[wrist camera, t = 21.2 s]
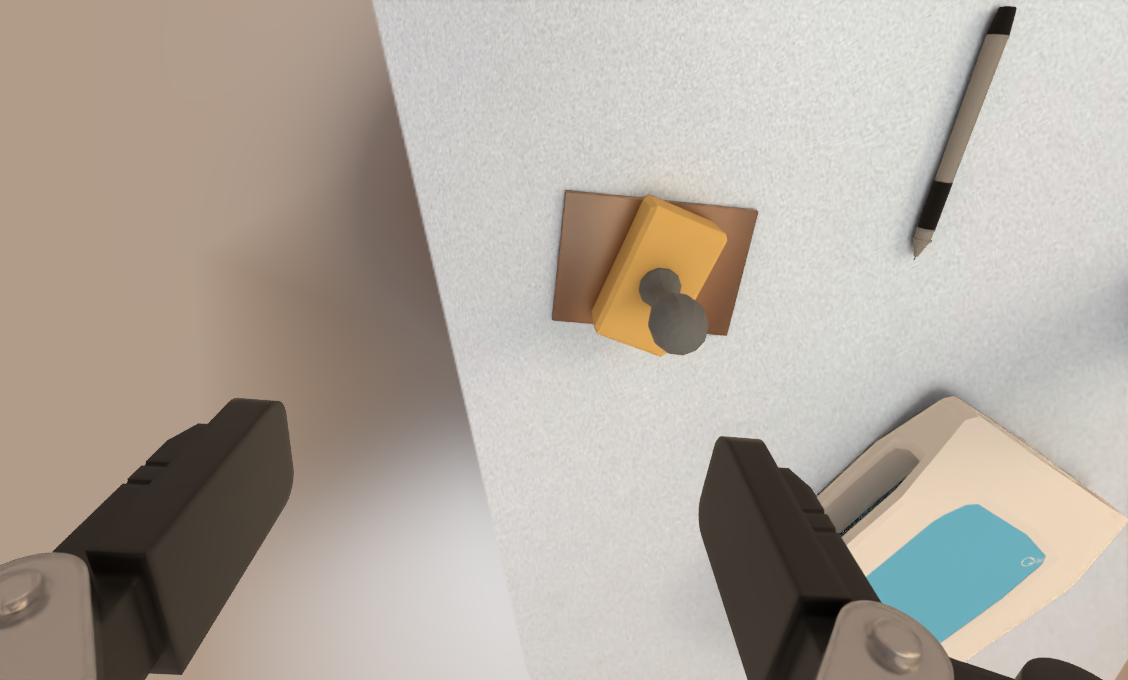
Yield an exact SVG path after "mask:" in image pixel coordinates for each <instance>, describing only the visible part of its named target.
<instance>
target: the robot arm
mask: <svg viewBox="0 0 1128 680" xmlns="http://www.w3.org/2000/svg"><path fill="white" fill-rule="evenodd" d="M293 476H294V471H293V462H292V454H291V446H290V440H289V431H288V423H287V416H286V410H285V407H284V405H283V404H282V403H281V402H280V401H270V400H269V401H268V400H257V399H244V398H234V399H232V400H231V401H230V402H228V404H227V405H226V406H225V407H224V408H223V409H222V410H221V411H220V412H219V413H218V414H217V415H216V416H215V417H214V418H213V419H212V420H211V421H210V422H209V423H208V424H197V425H195V426H193V427H191V428H189V429H188V430H186V431H184V432H182V433H180V434H179V435H176V436H175V437H173V438H171V439H169V440H167V441H166V442H165V443H164V444H163V445H162V446H161V447H160V448H159V449H158V450H157V451H156V452H155V453H154V454H153V455H152V456H151V457H150V458H149V459H148V460H147V461H146V465H145V466H141V467H140V468H139V469H138V470H136V471H135V472H134V473H133V474H132V475H131V476H130V477H129V478H128V482H127V484H122V485H121V486H120V487H119V488H118V489H117V490H116V491H115V492H114V493H113V494H112V495H111V496H110V497H108V499H107V500H105V501H104V502H103V503H102V504H101V505H100V506H99V507H98V508H97V509H96V510H95V511H94V512H93V513H92V514H91V515H90V516H89V517H88V518H87V519H86V520H85V521H84V522H83V523H82V524H81V525H79V526H78V527H77V529H75V530H74V531H73V532H72V533H71V534H70V535H69V536H68V537H67V538H66V539H65V540H64V541H63V542H62V543H61V544H60V545H59V546H58V547H57V548H56V549H55V550H54V551H53V552H52V553H41V554H35V555H31V556H26V557H22V558H19V559H15V560H12V561H10V562H7V563H4V564H2V565H0V680H145V679H146V677H147V676H148V674H149V673H153V674H174V675H175V674H176V675H182V674H183V672H184V670H185V669H186V667H187V665H188V664H189V662H190V661H191V659H192V657H193V655H194V654H195V652H196V650H197V649H198V648H199V646H200V644H201V643H202V641H203V639H204V638H205V636H206V634H207V633H208V631H209V630H210V628H211V626H212V625H213V623H214V621H215V620H216V618H217V616H218V615H219V613H220V611H221V610H222V608H223V607H224V605H225V603H226V601H227V600H228V598H229V597H230V595H231V593H232V592H233V590H234V589H235V587H236V585H237V584H238V582H239V580H240V579H241V577H242V576H243V574H244V572H245V571H246V569H247V567H248V566H249V564H250V562H251V561H252V559H253V558H254V556H255V554H256V553H257V551H258V549H259V547H260V546H261V544H262V543H263V541H264V540H265V538H266V536H267V535H268V533H269V531H270V530H271V528H272V526H273V525H274V523H275V522H276V520H277V518H278V517H279V515H280V513H281V512H282V510H283V508H284V507H285V505H286V503H287V501H288V499H289V496H290V493H291V489H292V484H293ZM699 527H700V532H701V535H702V539H703V542H704V545H705V548H706V551H707V554H708V557H709V561H710V564H711V567H712V570H713V573H714V576H715V579H716V582H717V586H718V589H719V592H720V595H721V598H722V601H723V604H724V607H725V611H726V614H727V617H728V620H729V623H730V626H731V629H732V632H733V636H734V639H735V642H736V645H737V648H738V651H739V654H740V657H741V661H742V664H743V667H744V670H745V673H746V676H747V679H748V680H1102V679H1100V678H1099V677H1097V676H1095V675H1094V674H1092V673H1090V672H1088V671H1086V670H1084V669H1082V668H1080V667H1078V666H1075V665H1073V664H1070V663H1068V662H1064V661H1061V660H1058V659H1052V658H1036V659H1032V660H1030V661H1028V662H1027V663H1026V664H1025V665H1024V667H1023V668H1022V669H1021V671H1020V672H1019V674H1018V675H1017V676H1016V678H1015V679H1013V678H1010V677H1007V676H1004V675H1001V674H998V673H995V672H992V671H989V670H986V669H983V668H980V667H977V666H974V665H971V664H968V663H965V662H962V661H959V660H956V659H953V658H951V657H949V656H948V654H947V653H946V651H945V649H944V648H943V646H942V645H941V644H940V642H939V641H938V640H937V639H936V638H935V636H934V635H933V634H932V633H931V632H930V631H929V630H928V629H926V628H925V627H924V626H923V625H922V624H920V623H919V622H918V621H916V620H915V619H914V618H912V617H911V616H909V615H907V614H906V613H904V612H902V611H900V610H898V609H896V608H894V607H892V606H889V605H886V604H883V603H882V602H881V601H880V599H879V597H878V596H877V594H876V593H875V591H874V589H873V588H872V586H871V584H870V583H869V581H868V580H867V578H866V576H865V575H864V573H863V571H862V570H861V568H860V567H859V565H858V563H857V562H856V560H855V559H854V557H853V555H852V554H851V552H850V550H849V549H848V547H847V546H846V544H845V542H844V541H843V539H842V537H841V536H840V534H839V533H836V528H835V526H834V524H833V523H832V521H831V520H830V518H829V516H828V515H827V514H825V513H824V508H823V507H822V505H821V503H820V502H819V500H818V499H817V497H816V495H815V494H814V492H813V490H812V489H811V488H810V487H809V486H808V485H807V484H806V483H805V482H804V481H802V480H801V479H800V478H799V477H798V476H797V475H796V474H794V473H793V472H792V471H791V470H790V469H789V468H778V466H777V465H776V463H775V461H774V459H773V458H772V456H771V454H770V452H769V450H768V449H767V447H766V445H765V444H764V442H763V441H762V440H760V439H749V438H736V437H723V436H721V437H719V438H718V439H717V441H716V443H715V446H714V449H713V453H712V457H711V460H710V464H709V468H708V472H707V475H706V479H705V483H704V486H703V490H702V494H701V498H700V503H699Z"/></svg>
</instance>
